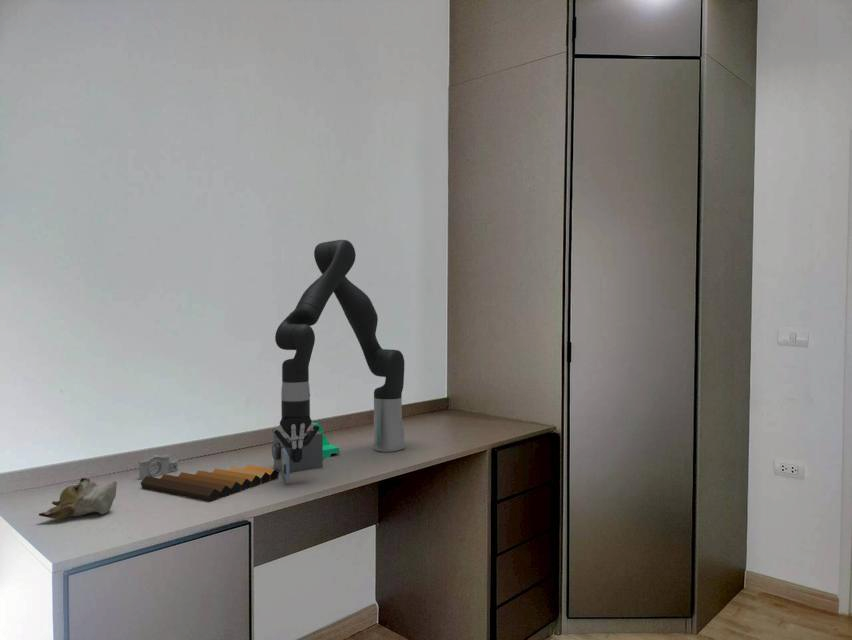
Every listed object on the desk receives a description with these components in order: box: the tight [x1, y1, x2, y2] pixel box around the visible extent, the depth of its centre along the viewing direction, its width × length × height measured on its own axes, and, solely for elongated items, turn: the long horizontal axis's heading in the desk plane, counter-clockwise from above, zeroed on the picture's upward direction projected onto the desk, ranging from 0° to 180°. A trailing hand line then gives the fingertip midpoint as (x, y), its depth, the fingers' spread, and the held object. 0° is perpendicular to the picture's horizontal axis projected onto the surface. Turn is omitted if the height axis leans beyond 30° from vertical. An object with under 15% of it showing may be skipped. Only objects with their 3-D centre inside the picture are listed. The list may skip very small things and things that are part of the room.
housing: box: [271, 429, 324, 473], centre depth 186 cm, size 13×10×11 cm
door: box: [280, 447, 290, 484], centre depth 174 cm, size 12×2×7 cm, turn 18°
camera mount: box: [308, 422, 340, 459], centre depth 202 cm, size 12×8×10 cm, turn 131°
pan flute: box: [140, 464, 280, 503], centre depth 171 cm, size 25×3×25 cm
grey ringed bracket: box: [137, 453, 179, 480], centre depth 179 cm, size 12×2×6 cm, turn 149°
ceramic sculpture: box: [38, 477, 118, 519], centre depth 145 cm, size 11×9×15 cm
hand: (296, 461), depth 171 cm, fingers closed
